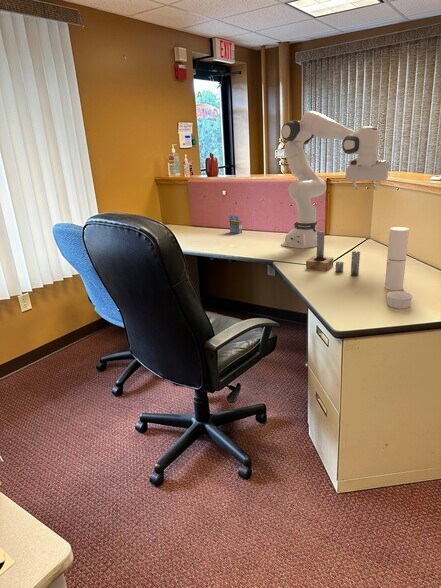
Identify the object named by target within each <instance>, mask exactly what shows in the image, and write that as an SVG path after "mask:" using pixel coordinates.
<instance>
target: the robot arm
mask: <svg viewBox="0 0 441 588" xmlns="http://www.w3.org/2000/svg"><path fill="white" fill-rule="evenodd" d="M280 130H281V132H280V134H281V137H282V139H283V140H284V141H286V142H285V145H284V154H285V159H286V161H287V164H288V167H289V170H290V172H291V175H292V176H293V177H296V178H297V179H298V180H294V181H293V182H291V183H290V184H289V185H288V187H287V189H288V192H287V193H288V195H289V197H290V198H291V199H292V200H293V201H294V203H295V205H296V210H297V221H295V222H294V223H293V227H294V228H292V229H291V230H290V231H288V233H286V235H285V237H284V241H282V242H281V244H280V246H283V247H290V248H295V249H296V248H297V249H305V248H315V247H317V231H318V222H317V218H318V217H317V207H316V206H315V205H313V204H312V200H311V199H312V198H318V197H320V196H322V195H324V194H325V193H326V191H327V183H326V181H325V180H324V179H322V177H320V176H319V175H317V174H316V172H315V171H314V170H313V168H312V167H311V165H310V162H309V159H308V158H307V154H306V152H305V149H304V145H307V144H309V142H310V141H312V140H313V138H314V137H317V138H320V139H329V140H330V139H338V140H342V142H341V143H342V144H341V147H342V150H343V152H344V153H345V154H347V155H358V157H357V158H354V159H351V160H349V161H347V162H348V166H347V167H346V171H345V178H344V179H345V180H346V181H352V185H353V187H354V188H353V190H359V186H358V185H357V181H375V183H376V184H375V185H374V186H373V189H372V190H374V191H375V190H377V189H378V186H379V185H380V183H381V181H386V180H387V179H388V178H389V172H388V170H389V169H390V168H389V167H390V163H389V161H387V160H378V152H377V151H378V147H379V146H378V145H379V130H378V128H377V127H375V126H372V125H370V126H369V125H365V126H362V127H360V129H359V130H355V129H352V128H350V127H347V126H345V125H343V124H341V123H339V122H337V121H336V120H334V119H332V118H330V117H328V116H327V115H325V114H323V113H320V112H317V111H315V110H308V111H306V112H305V113H304V114H303V115H302V118H301V119H300V120H297V119H295V120H291V121H287V122H285V123H283V125H282V127H281V129H280Z"/></svg>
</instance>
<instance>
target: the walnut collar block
mask: <svg viewBox="0 0 441 588" xmlns="http://www.w3.org/2000/svg"><path fill="white" fill-rule="evenodd" d="M333 266H334V257H331V256H324V261H316V255H312V256H311V257H310V258H308V259H307V260H306V261H305V269H306V270H312V271H313V270H315V271H323V272H324V271H325V272H327V271H328V270H329V269H331V268H332V267H333Z"/></svg>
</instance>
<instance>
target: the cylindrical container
mask: <svg viewBox="0 0 441 588" xmlns="http://www.w3.org/2000/svg"><path fill="white" fill-rule="evenodd" d="M409 233H410V228H408V227H404V226H393V227H392V226H391V227H390V228H389V233H388V245H387V246H388V247H387V254H386V255H387V257H386V269H385V281H384V288H385V289H387V290H389V291H401V290H403V288H404V282H405V281H404V280H405V272H406V261H407V252H408V243H409Z"/></svg>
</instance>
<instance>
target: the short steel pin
mask: <svg viewBox="0 0 441 588" xmlns="http://www.w3.org/2000/svg"><path fill="white" fill-rule="evenodd" d="M335 273H338V274H341V273H344V262H343V261H336V262H335Z"/></svg>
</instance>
